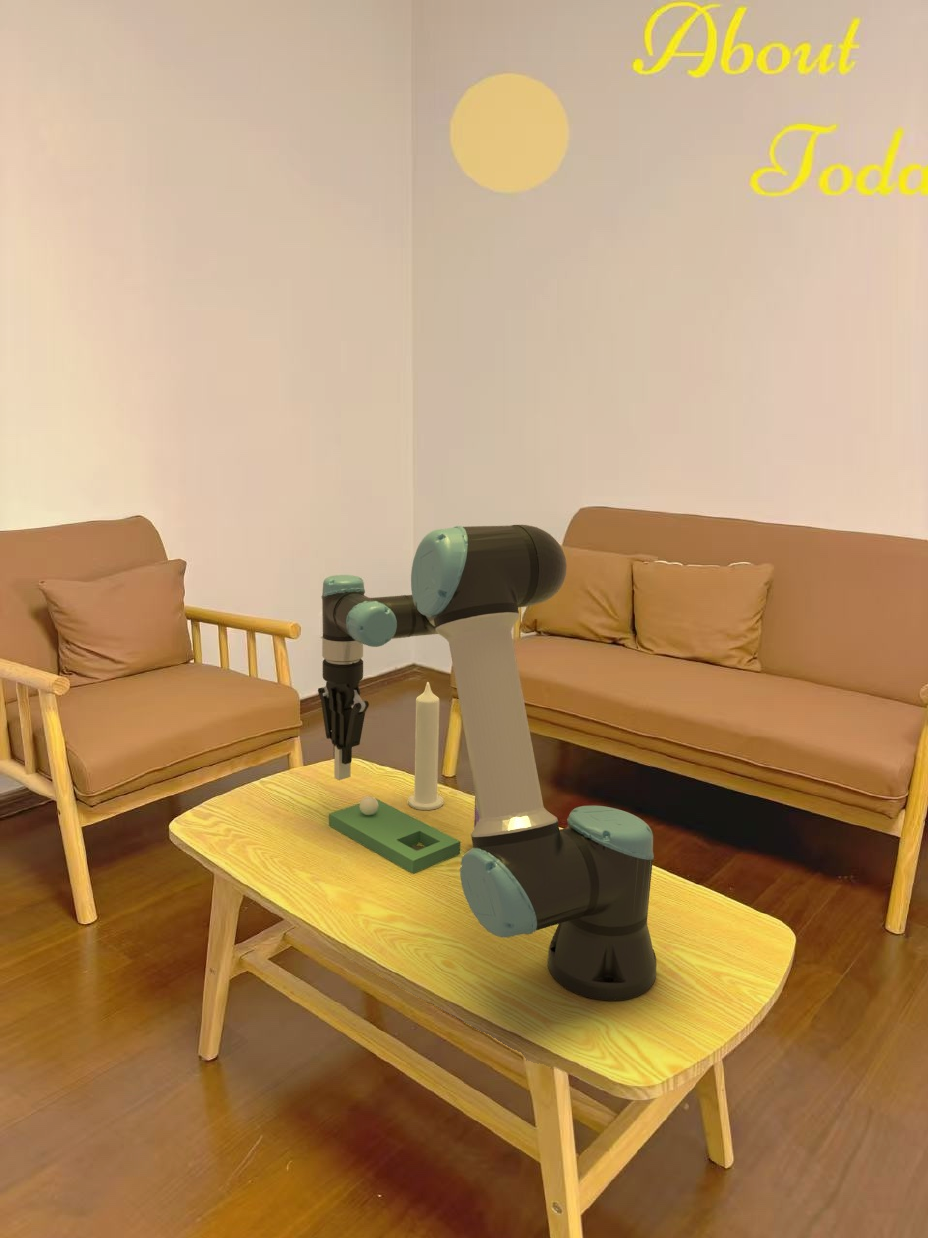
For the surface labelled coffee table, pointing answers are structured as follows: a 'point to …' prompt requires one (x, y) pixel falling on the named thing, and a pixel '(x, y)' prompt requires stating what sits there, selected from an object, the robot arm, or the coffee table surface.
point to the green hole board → (396, 836)
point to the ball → (368, 805)
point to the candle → (426, 752)
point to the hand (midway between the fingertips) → (342, 777)
